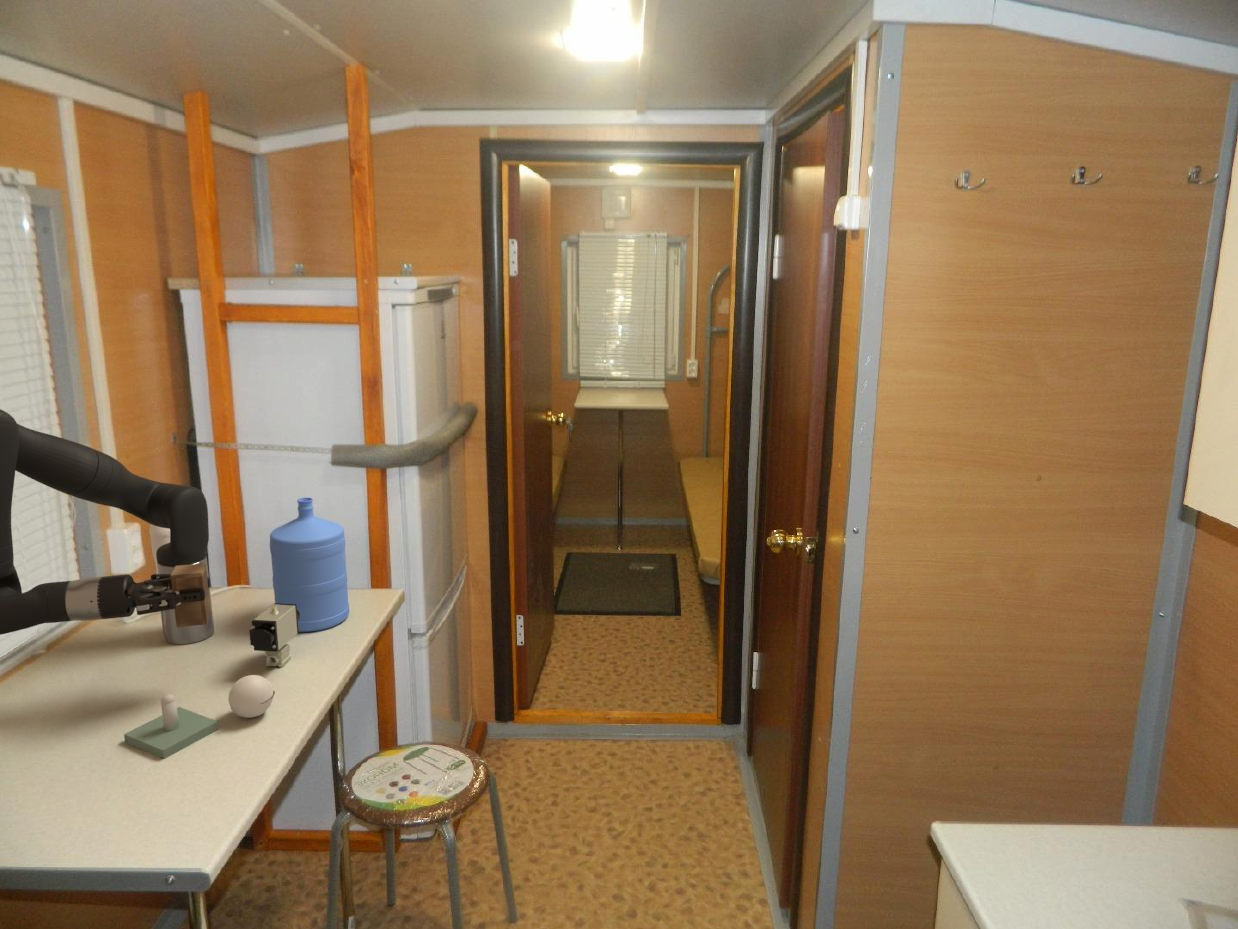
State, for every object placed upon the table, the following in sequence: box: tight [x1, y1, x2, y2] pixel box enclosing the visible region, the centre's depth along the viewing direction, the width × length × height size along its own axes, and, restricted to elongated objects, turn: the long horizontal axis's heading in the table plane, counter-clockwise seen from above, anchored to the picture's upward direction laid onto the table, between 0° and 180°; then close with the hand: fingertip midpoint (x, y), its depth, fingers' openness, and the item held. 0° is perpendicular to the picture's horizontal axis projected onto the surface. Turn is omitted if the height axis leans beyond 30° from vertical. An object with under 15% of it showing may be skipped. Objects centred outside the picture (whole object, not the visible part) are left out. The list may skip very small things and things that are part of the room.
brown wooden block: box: [171, 563, 211, 627], centre depth 151 cm, size 5×5×10 cm
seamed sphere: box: [227, 674, 275, 719], centre depth 147 cm, size 10×7×7 cm
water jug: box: [269, 497, 350, 633], centre depth 183 cm, size 16×16×28 cm
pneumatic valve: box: [249, 602, 300, 668], centre depth 164 cm, size 6×12×12 cm, turn 174°
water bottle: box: [148, 524, 170, 574], centre depth 194 cm, size 7×7×25 cm
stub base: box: [123, 693, 219, 759], centre depth 139 cm, size 10×10×8 cm
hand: (206, 588), depth 151 cm, fingers closed on brown wooden block, 5 cm apart
